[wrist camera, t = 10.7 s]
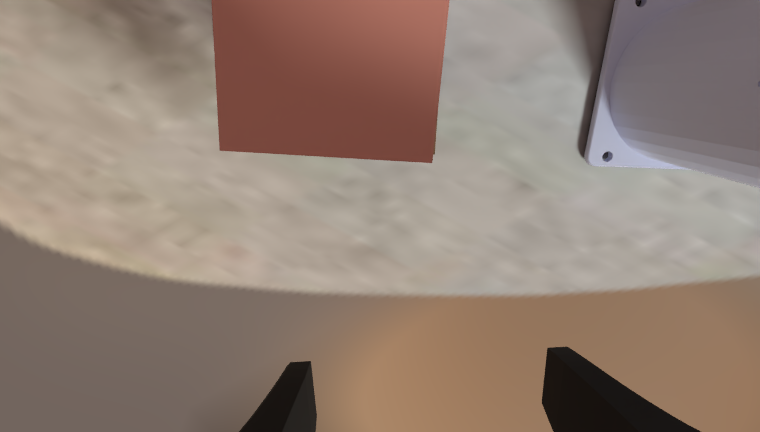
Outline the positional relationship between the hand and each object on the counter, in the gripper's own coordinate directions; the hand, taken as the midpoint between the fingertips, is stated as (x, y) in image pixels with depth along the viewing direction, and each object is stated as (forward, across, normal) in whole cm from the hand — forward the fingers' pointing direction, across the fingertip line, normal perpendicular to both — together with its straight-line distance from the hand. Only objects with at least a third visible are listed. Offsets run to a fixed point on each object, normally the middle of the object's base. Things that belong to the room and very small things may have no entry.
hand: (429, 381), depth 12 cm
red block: (+4, +2, -9) cm, 10 cm away
